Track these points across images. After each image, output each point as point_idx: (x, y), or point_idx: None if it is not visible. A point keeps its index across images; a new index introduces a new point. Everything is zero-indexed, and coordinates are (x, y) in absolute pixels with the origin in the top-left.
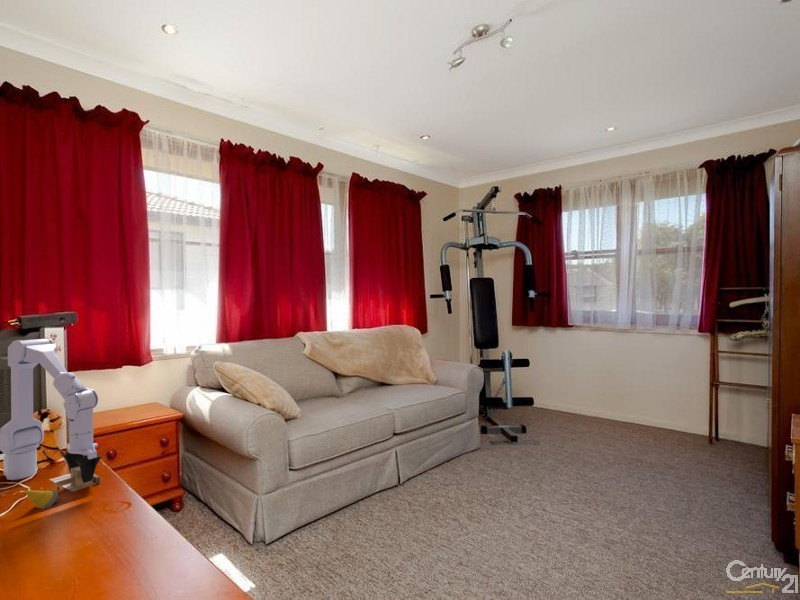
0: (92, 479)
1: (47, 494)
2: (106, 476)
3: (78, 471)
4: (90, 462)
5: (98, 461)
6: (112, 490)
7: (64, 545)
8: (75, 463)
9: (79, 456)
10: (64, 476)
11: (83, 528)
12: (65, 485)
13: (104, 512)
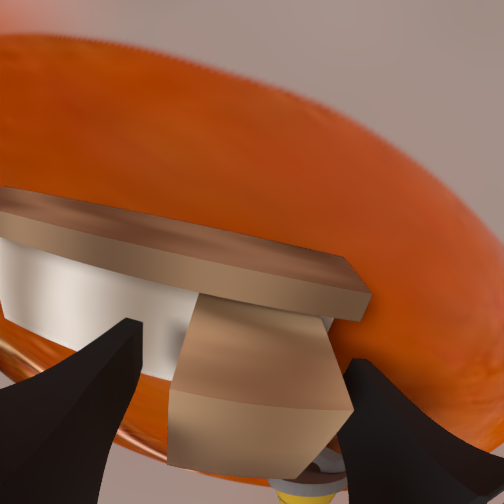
0: (320, 321)
1: (331, 499)
2: (190, 90)
3: (299, 469)
4: (417, 493)
5: (485, 452)
6: (451, 269)
7: (470, 443)
8: (97, 435)
9: (62, 473)
10: (6, 267)
11: (478, 420)
12: (153, 365)
13: (495, 377)
